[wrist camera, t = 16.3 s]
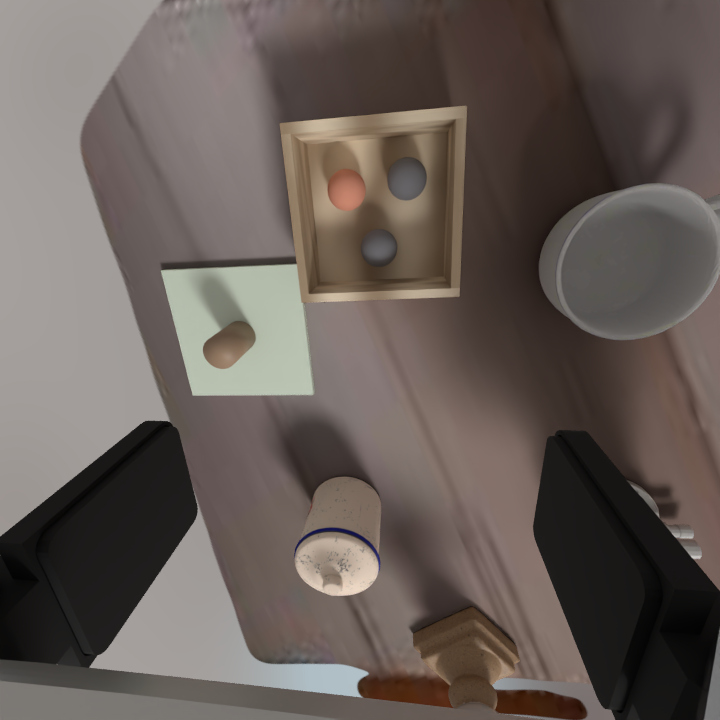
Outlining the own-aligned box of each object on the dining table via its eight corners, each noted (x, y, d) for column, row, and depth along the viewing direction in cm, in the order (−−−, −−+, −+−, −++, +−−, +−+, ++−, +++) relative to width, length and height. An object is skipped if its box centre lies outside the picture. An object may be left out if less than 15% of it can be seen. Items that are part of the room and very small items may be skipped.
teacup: (539, 328, 37) (574, 359, 29) (511, 218, 33) (544, 222, 26) (700, 276, 33) (786, 296, 26) (689, 148, 30) (783, 129, 23)
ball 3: (425, 157, 31) (428, 152, 28) (425, 199, 32) (428, 198, 30) (387, 160, 32) (385, 156, 29) (388, 201, 33) (387, 201, 30)
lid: (301, 262, 37) (283, 273, 31) (315, 389, 42) (302, 418, 37) (167, 268, 38) (127, 279, 33) (198, 390, 44) (167, 418, 38)
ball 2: (397, 226, 34) (396, 228, 31) (397, 263, 35) (397, 268, 32) (361, 228, 34) (357, 231, 31) (363, 265, 35) (360, 270, 32)
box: (454, 123, 31) (467, 105, 25) (450, 282, 36) (459, 296, 30) (300, 137, 32) (279, 123, 27) (316, 288, 37) (301, 302, 32)
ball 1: (366, 168, 32) (362, 165, 29) (368, 209, 33) (365, 209, 30) (329, 171, 32) (322, 168, 29) (332, 211, 34) (326, 212, 31)
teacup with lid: (300, 482, 47) (270, 565, 36) (368, 465, 45) (358, 548, 34) (336, 551, 51) (319, 644, 40) (400, 538, 49) (400, 632, 38)
